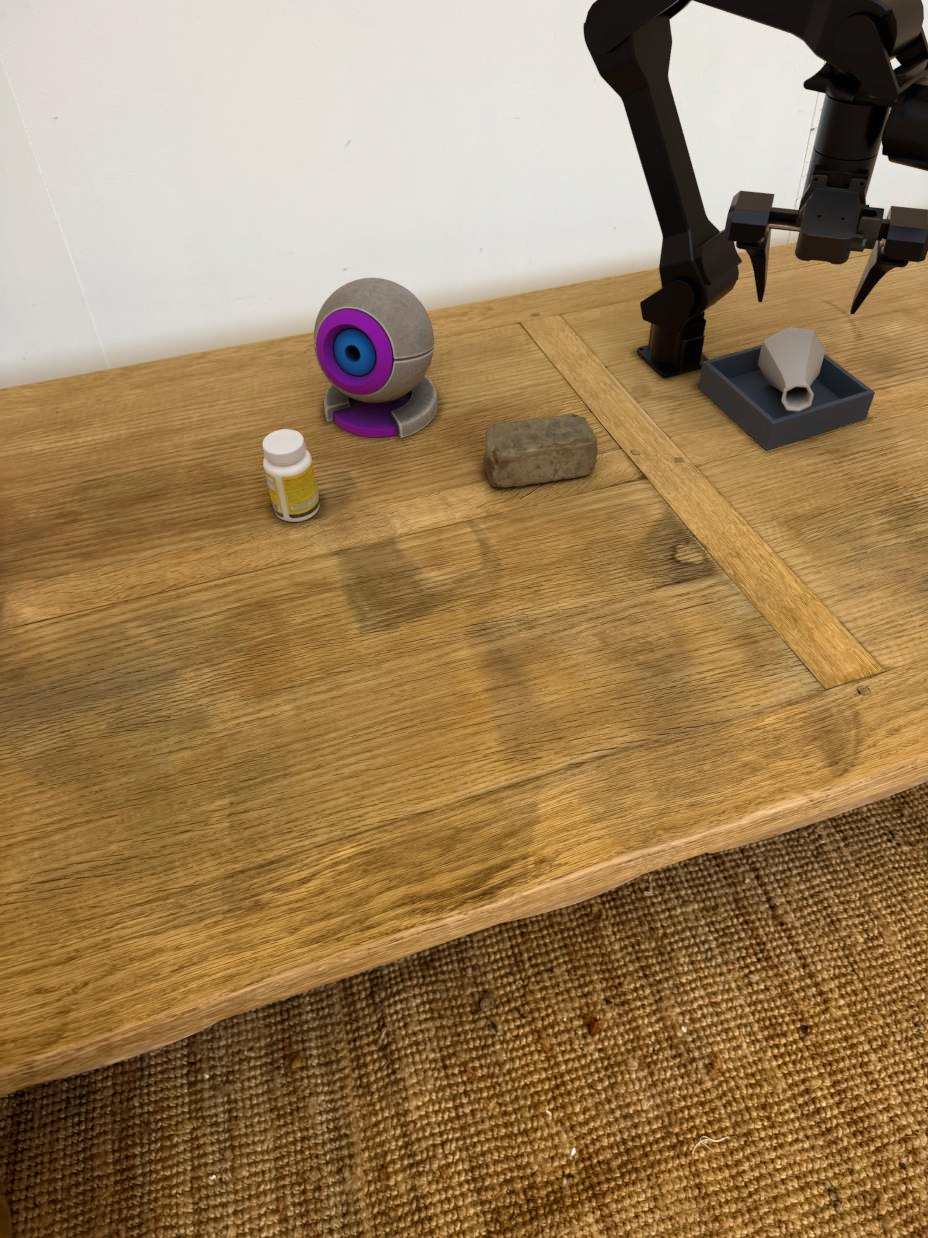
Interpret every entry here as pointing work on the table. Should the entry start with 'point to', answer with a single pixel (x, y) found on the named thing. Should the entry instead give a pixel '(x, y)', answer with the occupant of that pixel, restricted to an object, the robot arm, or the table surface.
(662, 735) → the table surface
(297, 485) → the supplement bottle
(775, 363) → the flask
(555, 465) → the stone block
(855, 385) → the dark grey square tray
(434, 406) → the webcam
